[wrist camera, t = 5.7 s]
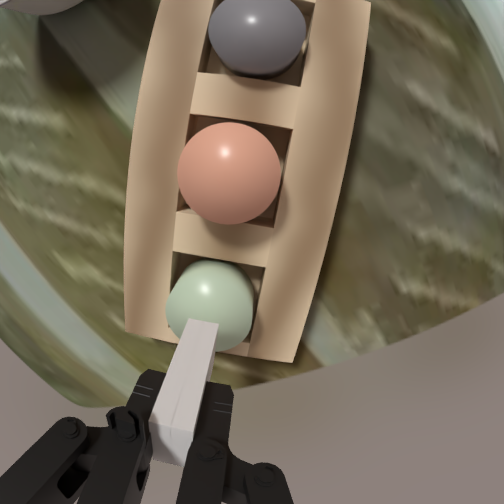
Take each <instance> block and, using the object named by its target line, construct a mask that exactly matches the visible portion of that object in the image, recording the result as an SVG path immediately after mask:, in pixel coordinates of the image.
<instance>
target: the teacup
mask: <svg viewBox="0 0 504 504" xmlns="http://www.w3.org/2000/svg"><path fill="white" fill-rule="evenodd" d="M82 1H83V0H0V7H1V8H5V9H9V10H14V11H18V12H23V13H28V14H33V15H49V14H55V13H59V12H62V11H64V10H67V9H69V8H71V7H73V6H75V5H77V4H79V3H80V2H82Z"/></svg>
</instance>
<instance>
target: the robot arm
mask: <svg viewBox="0 0 504 504" xmlns="http://www.w3.org/2000/svg"><path fill="white" fill-rule="evenodd" d="M218 327H219V324H217V323H211V322H206V321H201V320H196V319H191V318H189V319H188V321H187V323H186V326H185V328H184V331H183V333H182V336H181V338H180V341H179V343H178V346H177V348H176V351H175V353H174V356H173V358H172V361H171V363H170V366H169V369H168V371H167V373H163V372H159V371H155V370H151V369H148V370H147V371H145V372H144V373H143V374H141V375H140V377H139V379H138V381H137V383H136V386H135V387H134V390H133V393H132V394H131V396H130V398H129V400H128V402H127V405H126V407H124V406H121V407H115V408H113V409H111V410H110V411H109V412H108V413H107V414H106V417H107V421H108V425H109V426H108V427H89V426H86V425H85V424H84V423H83V422H82V421H81V420H79V419H77V418H75V417H65V418H62V419H60V420H59V421H57V422H56V423H55V424H54V425H53V426H52V427H51V428H50V429H49V430H48V431H47V432H46V433H45V434H44V435H43V436H42V437H41V438H40V439H39V440H38V441H37V442H36V443H35V444H34V445H32V447H30V448H29V450H27V451H26V452H25V453H24V454H23V455H22V456H21V457H20V458H19V459H18V460H17V461H16V462H15V463H14V464H13V465H12V466H11V467H10V468H9V469H8V470H7V471H6V472H5V473H4V474H3V475H2V476H1V477H0V504H74V502H75V501H76V500H77V499H78V497H79V496H80V497H79V499H78V502H77V504H140V503H141V499H142V496H143V493H144V489H145V486H146V482H147V479H148V476H149V472H150V464H149V463H150V460H151V457H152V455H153V460H157V461H161V462H165V463H170V464H173V465H178V466H183V467H184V470H183V474H182V479H181V483H180V488H179V492H178V496H177V501H176V504H221V501H222V502H224V503H227V504H294V503H293V500H292V497H291V494H290V491H289V488H288V485H287V482H286V479H285V476H284V474H283V472H282V471H281V469H279V468H278V467H277V466H276V465H273V464H270V463H257V464H254V465H252V464H250V463H247V462H245V461H242V460H240V459H239V458H237V457H236V456H234V455H233V454H232V452H231V451H230V449H229V446H228V438H229V430H230V422H231V413H232V405H233V398H234V397H233V396H234V394H233V392H232V389H231V387H230V385H225V384H219V383H213V382H210V377H211V373H212V368H213V363H214V355H215V348H216V341H217V334H218Z"/></svg>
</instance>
